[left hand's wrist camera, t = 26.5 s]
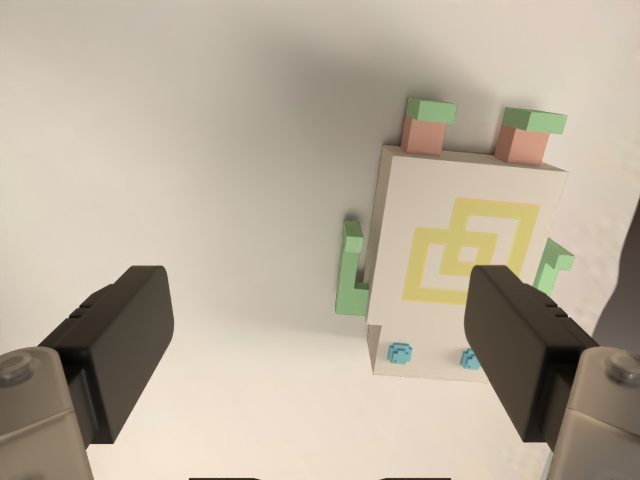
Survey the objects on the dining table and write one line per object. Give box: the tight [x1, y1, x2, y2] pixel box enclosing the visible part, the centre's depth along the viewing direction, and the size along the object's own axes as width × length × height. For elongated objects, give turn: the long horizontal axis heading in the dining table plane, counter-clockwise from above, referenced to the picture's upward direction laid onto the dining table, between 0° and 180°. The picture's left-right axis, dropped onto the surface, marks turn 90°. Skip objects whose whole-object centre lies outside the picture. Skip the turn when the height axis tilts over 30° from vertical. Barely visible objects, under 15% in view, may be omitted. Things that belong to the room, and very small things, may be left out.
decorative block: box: [335, 98, 575, 383], centre depth 39 cm, size 26×6×20 cm
